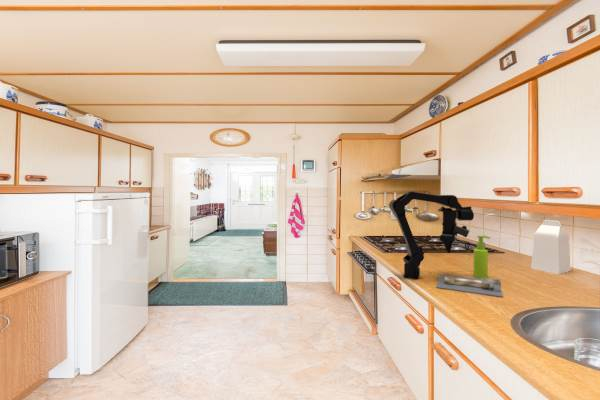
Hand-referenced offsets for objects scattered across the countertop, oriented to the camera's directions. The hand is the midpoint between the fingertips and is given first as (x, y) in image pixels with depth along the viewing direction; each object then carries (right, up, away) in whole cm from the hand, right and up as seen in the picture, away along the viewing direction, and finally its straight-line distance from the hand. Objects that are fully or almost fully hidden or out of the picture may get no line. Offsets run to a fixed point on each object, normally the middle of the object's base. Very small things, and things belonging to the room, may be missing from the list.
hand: (448, 252), depth 141 cm
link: (+1, -12, -13) cm, 18 cm away
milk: (+58, -11, +10) cm, 60 cm away
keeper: (+8, -13, -18) cm, 24 cm away
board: (+3, -12, -11) cm, 17 cm away
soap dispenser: (+16, -12, 0) cm, 20 cm away
